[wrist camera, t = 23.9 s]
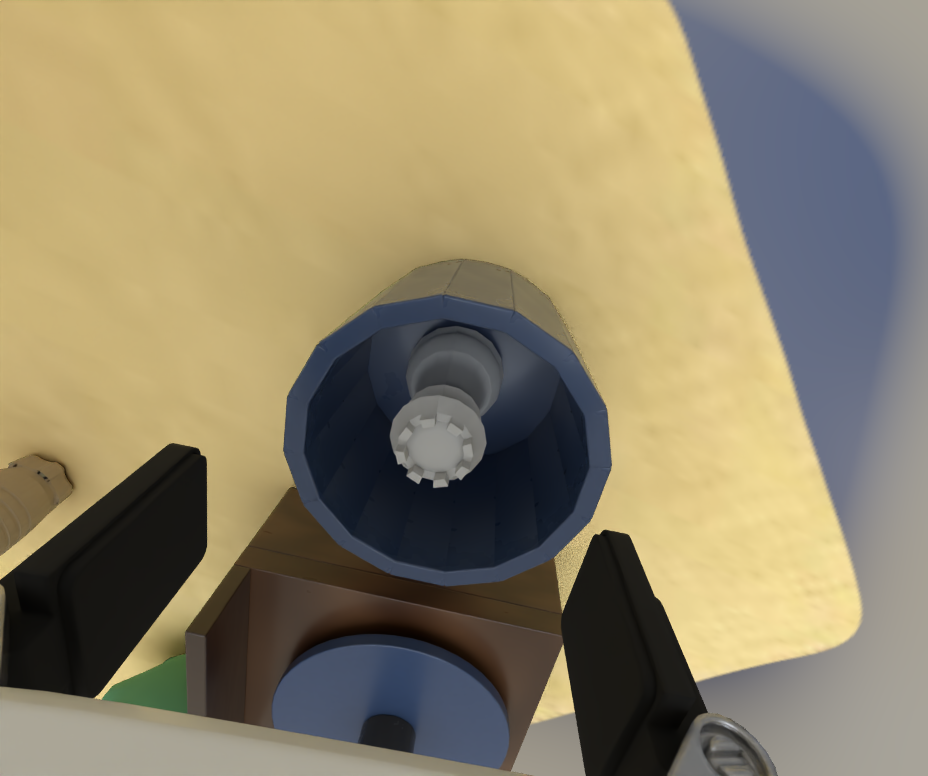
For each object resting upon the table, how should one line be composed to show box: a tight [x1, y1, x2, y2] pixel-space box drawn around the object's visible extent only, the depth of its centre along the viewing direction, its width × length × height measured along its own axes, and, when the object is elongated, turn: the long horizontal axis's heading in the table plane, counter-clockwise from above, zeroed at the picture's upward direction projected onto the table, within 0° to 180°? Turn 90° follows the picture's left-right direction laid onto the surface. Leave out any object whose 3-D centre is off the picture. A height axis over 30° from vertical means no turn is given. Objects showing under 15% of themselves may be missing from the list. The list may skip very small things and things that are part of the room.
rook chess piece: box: [390, 326, 504, 488], centre depth 19 cm, size 4×4×8 cm
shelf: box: [185, 488, 563, 771], centre depth 25 cm, size 15×14×10 cm
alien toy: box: [102, 654, 187, 714], centre depth 28 cm, size 7×8×10 cm
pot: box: [283, 259, 612, 586], centre depth 19 cm, size 10×10×8 cm
